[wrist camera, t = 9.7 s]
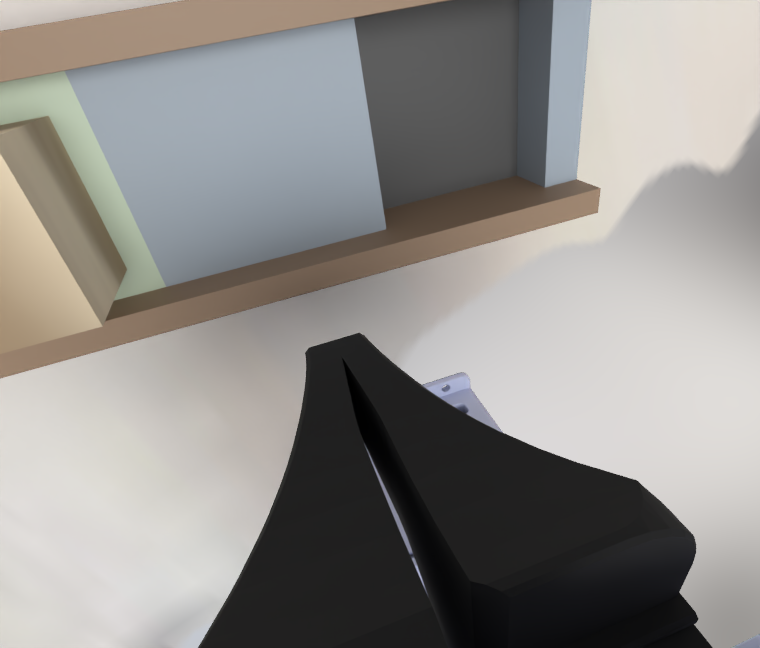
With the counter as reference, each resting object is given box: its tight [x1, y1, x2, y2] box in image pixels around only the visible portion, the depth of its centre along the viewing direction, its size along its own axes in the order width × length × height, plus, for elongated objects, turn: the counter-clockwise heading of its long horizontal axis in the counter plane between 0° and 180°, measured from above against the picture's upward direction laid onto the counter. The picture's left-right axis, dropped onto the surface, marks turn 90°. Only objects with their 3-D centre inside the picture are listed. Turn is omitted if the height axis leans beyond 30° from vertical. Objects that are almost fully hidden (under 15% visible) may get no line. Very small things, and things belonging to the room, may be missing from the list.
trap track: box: [0, 0, 600, 378], centre depth 15 cm, size 31×9×4 cm, turn 99°
